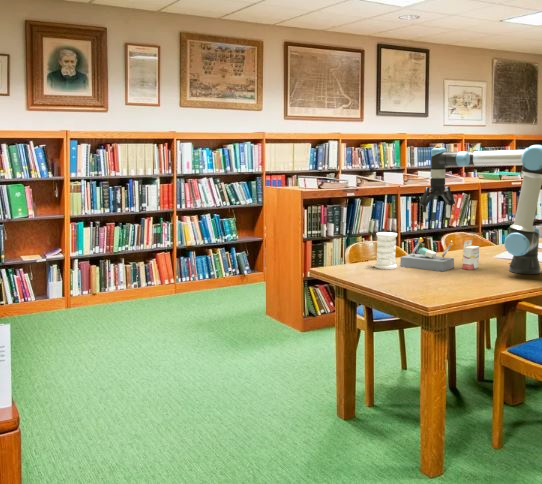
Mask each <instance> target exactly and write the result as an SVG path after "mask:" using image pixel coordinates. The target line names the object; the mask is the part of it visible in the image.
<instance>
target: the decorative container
mask: <svg viewBox="0 0 542 484" xmlns="http://www.w3.org/2000/svg"><path fill="white" fill-rule="evenodd" d="M375 236H376V237H377V238H376V239H377V240H376V243H377V245H376V263H374V268H375V269H380V270H394V269H397V268H398V265H397V264H396V260H397V259H396V254H397V252H396V249H397V246H396V245H397V239H396V238H397V237H398V233H397V232H387V231H382V232H376V234H375Z"/></svg>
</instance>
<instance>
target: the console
mask: <svg viewBox="0 0 542 484" xmlns="http://www.w3.org/2000/svg"><path fill="white" fill-rule="evenodd" d="M454 264H455V258H454V257H447V256H446V257H445V256H444V257H442V256H438V255H436V257H434V258H430V257H427V256H425V255H422V254H420V253H414V254H413V253H409V254H406V255H403V256H400V263H399V266H400V267H404V268H411V269H419V270H420V269H421V270H428V271H436V272H446V271H448V270H451V269H453V268H454V266H455V265H454Z"/></svg>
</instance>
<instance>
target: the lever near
mask: <svg viewBox="0 0 542 484" xmlns="http://www.w3.org/2000/svg"><path fill="white" fill-rule="evenodd" d="M454 245H455V242H454V241H453V240H449V242H448V245H447V247H446V249H445V250H444V252H443V253H442V255H441V257H445V256H446V254H447V253H448V251H449V250H450V248H451V247H452V246H454Z"/></svg>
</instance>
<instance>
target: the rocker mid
mask: <svg viewBox="0 0 542 484" xmlns="http://www.w3.org/2000/svg"><path fill="white" fill-rule="evenodd" d="M437 253H438V252H435V251H433V250H431V249H428V248H426V247H420V248H419V249H418V252H417V254H420V255H425V256H427V257H430V258H434V257H436V256H437Z"/></svg>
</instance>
